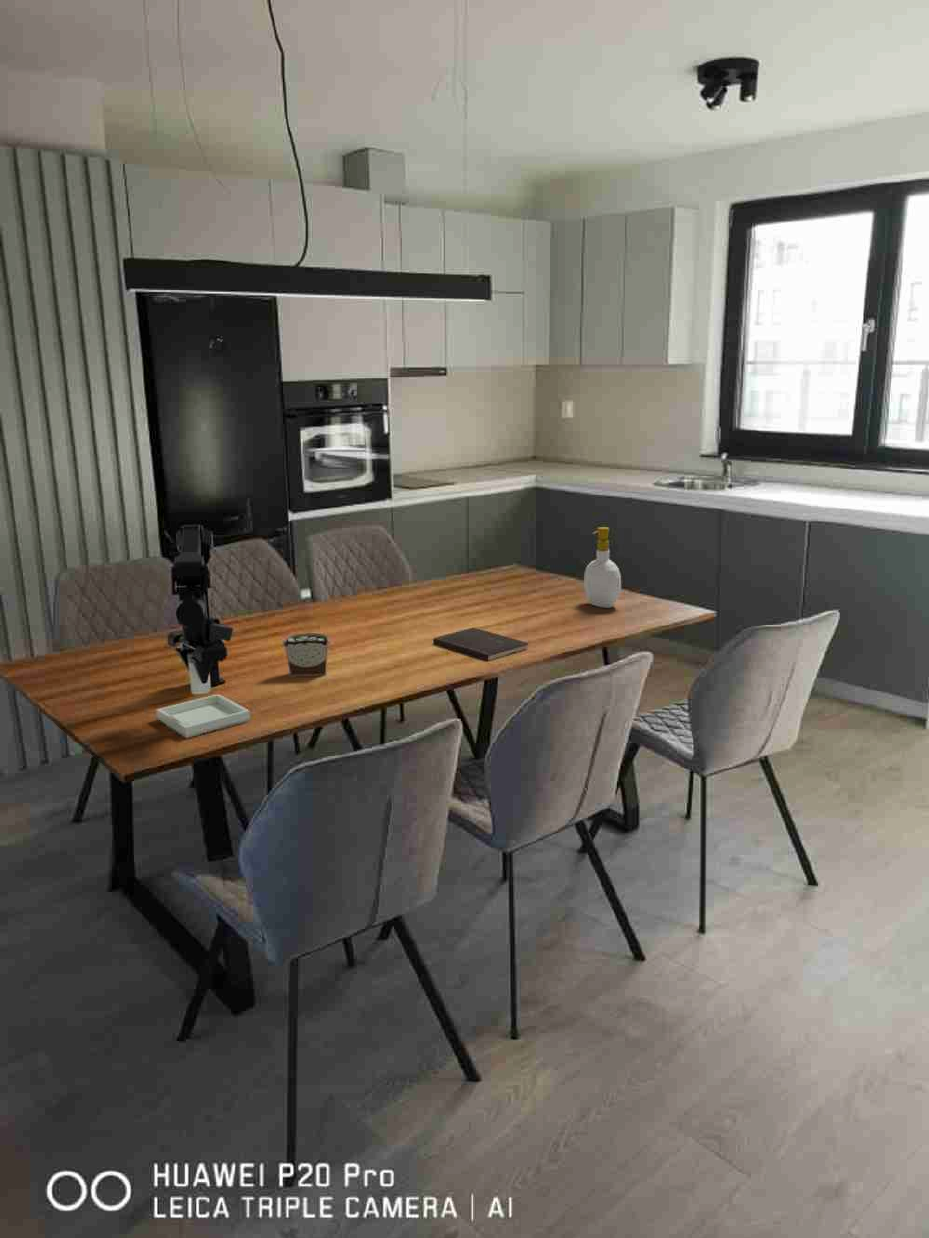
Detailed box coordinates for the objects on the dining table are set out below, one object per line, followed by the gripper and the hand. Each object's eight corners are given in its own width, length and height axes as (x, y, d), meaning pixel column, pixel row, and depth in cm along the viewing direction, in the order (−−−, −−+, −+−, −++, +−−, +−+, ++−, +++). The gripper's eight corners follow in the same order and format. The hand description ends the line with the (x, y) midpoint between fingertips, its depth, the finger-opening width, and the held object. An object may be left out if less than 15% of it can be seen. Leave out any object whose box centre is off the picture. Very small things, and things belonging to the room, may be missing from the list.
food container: (333, 667, 260) (331, 631, 257) (331, 674, 254) (329, 638, 251) (287, 668, 260) (285, 633, 257) (284, 676, 254) (282, 639, 251)
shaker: (187, 690, 222) (183, 653, 220) (205, 686, 225) (202, 649, 222) (196, 695, 219) (192, 658, 216) (214, 691, 221) (211, 653, 219)
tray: (157, 719, 224) (156, 709, 224) (219, 703, 234) (218, 693, 233) (186, 738, 213) (185, 727, 212) (250, 720, 222) (249, 710, 222)
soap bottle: (575, 604, 321) (576, 526, 314) (594, 599, 326) (595, 523, 319) (608, 612, 310) (609, 532, 303) (626, 607, 315) (628, 528, 308)
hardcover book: (473, 634, 290) (473, 627, 289) (528, 650, 273) (528, 643, 273) (433, 645, 280) (432, 638, 279) (487, 663, 263) (487, 655, 262)
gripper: (246, 616, 215) (251, 682, 219) (208, 601, 229) (214, 664, 233) (199, 625, 208) (205, 694, 212) (163, 609, 222) (170, 674, 226)
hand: (200, 680), depth 221 cm, fingers closed on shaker, 4 cm apart
